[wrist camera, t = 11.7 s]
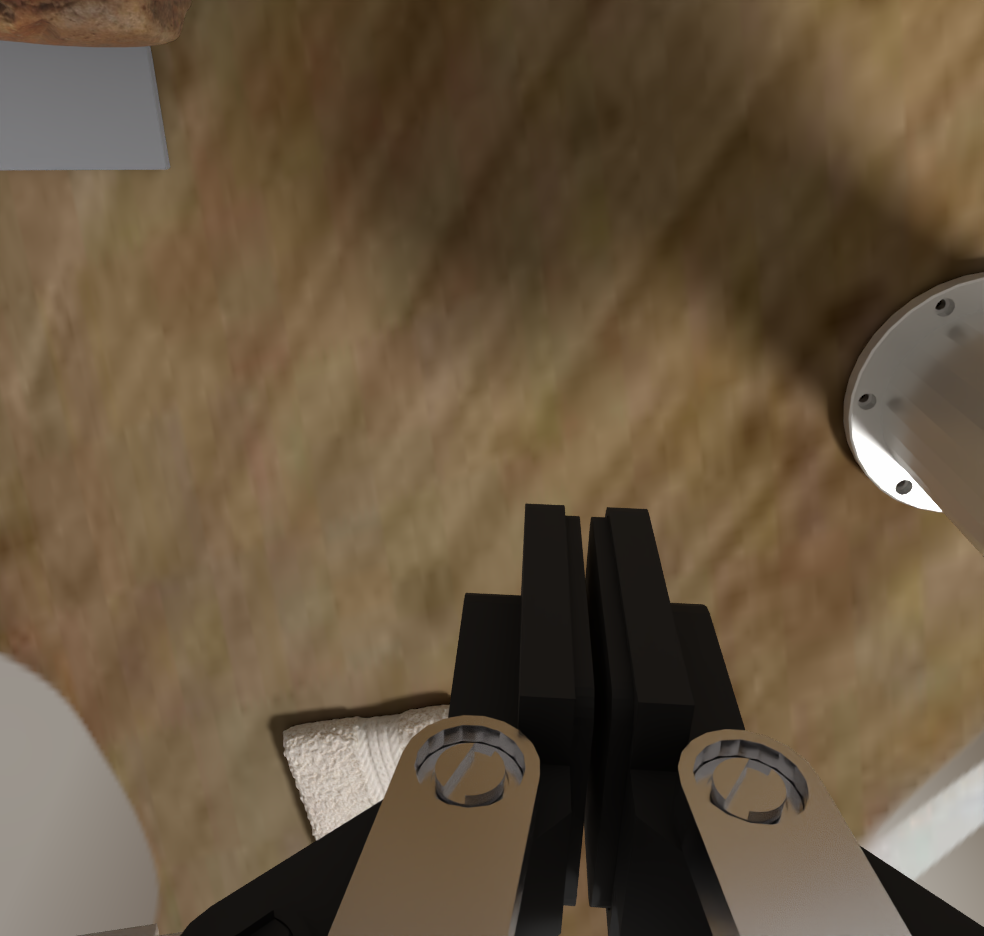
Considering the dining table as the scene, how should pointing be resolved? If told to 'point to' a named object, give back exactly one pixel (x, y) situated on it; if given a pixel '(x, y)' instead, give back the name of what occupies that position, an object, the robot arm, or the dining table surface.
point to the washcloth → (349, 762)
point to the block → (92, 22)
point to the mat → (79, 108)
